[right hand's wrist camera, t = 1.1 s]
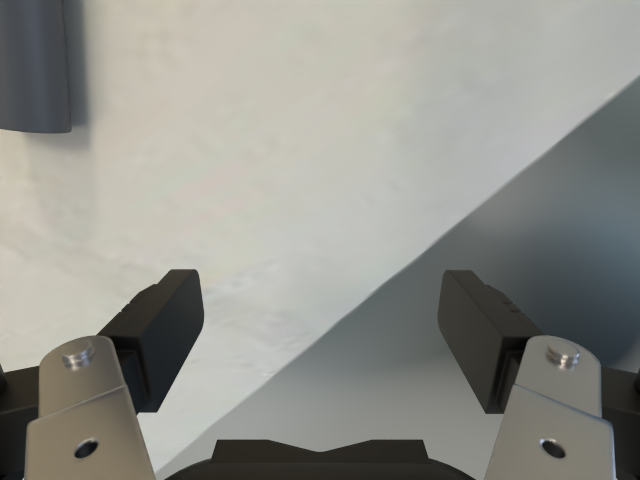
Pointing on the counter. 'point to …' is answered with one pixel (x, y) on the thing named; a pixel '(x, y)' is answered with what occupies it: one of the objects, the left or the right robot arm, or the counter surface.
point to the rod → (33, 67)
